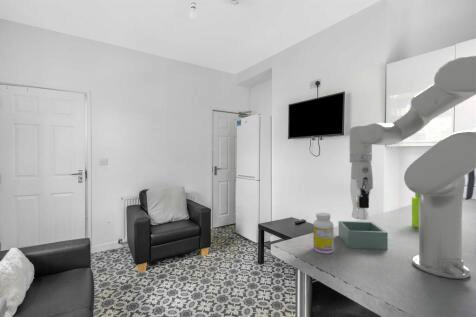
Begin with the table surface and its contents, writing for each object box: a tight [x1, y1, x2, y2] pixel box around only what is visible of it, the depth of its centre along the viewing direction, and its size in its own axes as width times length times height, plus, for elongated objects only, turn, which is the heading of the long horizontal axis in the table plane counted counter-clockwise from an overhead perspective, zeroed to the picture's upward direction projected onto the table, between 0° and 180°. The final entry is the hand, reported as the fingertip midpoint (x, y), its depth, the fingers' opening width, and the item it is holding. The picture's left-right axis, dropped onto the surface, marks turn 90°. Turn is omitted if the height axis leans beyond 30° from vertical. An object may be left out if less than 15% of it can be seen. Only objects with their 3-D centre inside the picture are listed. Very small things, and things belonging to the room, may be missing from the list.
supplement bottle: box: [312, 212, 335, 255], centre depth 82 cm, size 7×7×13 cm
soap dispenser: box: [411, 193, 420, 229], centre depth 107 cm, size 6×7×20 cm
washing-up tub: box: [338, 220, 389, 251], centre depth 89 cm, size 13×13×6 cm
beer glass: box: [349, 177, 372, 220], centre depth 89 cm, size 7×7×15 cm
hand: (360, 205), depth 89 cm, fingers closed on beer glass, 6 cm apart
